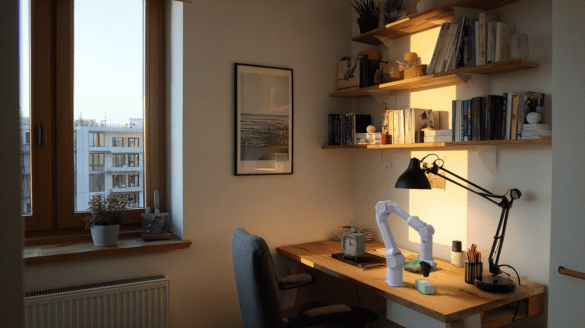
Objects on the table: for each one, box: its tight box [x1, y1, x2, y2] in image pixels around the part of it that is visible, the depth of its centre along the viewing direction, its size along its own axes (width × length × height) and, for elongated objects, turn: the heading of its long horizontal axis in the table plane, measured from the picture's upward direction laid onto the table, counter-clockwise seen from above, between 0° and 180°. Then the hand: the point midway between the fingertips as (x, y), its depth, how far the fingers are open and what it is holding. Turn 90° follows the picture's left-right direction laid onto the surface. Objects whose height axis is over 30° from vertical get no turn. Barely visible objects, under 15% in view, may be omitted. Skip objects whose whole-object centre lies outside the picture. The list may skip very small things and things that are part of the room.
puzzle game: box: [403, 259, 438, 274], centre depth 246 cm, size 12×5×20 cm
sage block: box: [414, 278, 435, 295], centre depth 207 cm, size 4×5×10 cm
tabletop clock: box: [340, 220, 367, 260], centre depth 267 cm, size 14×9×25 cm, turn 37°
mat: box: [412, 286, 436, 295], centre depth 208 cm, size 10×7×1 cm
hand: (426, 276), depth 206 cm, fingers closed
